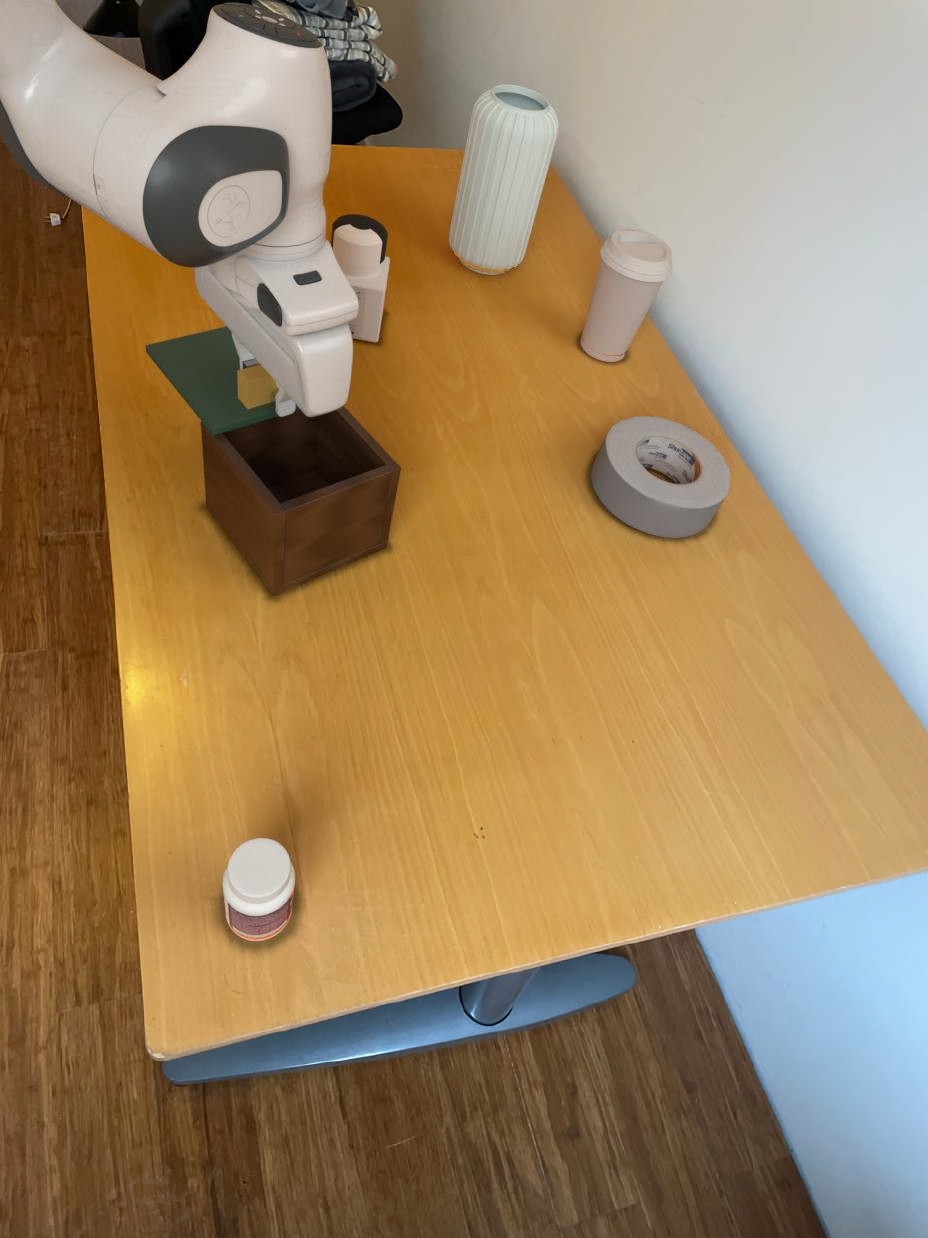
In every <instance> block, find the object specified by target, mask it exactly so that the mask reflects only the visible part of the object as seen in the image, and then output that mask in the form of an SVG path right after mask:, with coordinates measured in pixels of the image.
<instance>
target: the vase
mask: <svg viewBox="0 0 928 1238" xmlns="http://www.w3.org/2000/svg"><path fill="white" fill-rule="evenodd" d="M559 125H560V123H559V119H558V115H557V112H556V111H555V109H554V107H553V106H552V105H551V104H550V101H549V100H548V99H547V97H545V96H544V95H543V94H541V93H539V92H537V91H536V90H533V89H531V88H528V87H525V86H522V85H517V84H509V83H507V84H505V83H503V84H498V85H495V86H494V87H491V88H489V89H488V90H486V91H484V92H482V94H481V95H480V96H479V97H478V98H477V100H476V101H475V103H474V105H473V108H472V112H471V117H470V122H469V129H468V133H467V139H466V144H465V149H464V155H463V159H462V165H461V170H460V175H459V180H458V186H457V191H456V195H455V196H456V197H455V201H454V207H453V211H452V217H451V222H450V227H449V233H448V243H449V246H450V245H451V246H452V249H451V251H452V250H453V251H455V252H456V253H457V255H458V256H459V257H461V258H462V259H464V261H465V262H469V263H471V264H472V265H473V266H479V267H481V268H483V269H485V268H487V269H491V270H500V271H503V270H504V269H511V268H512V267H515V268H517V267H518V266H519V265H520V264H521V263H522V262H523V260H524V257H525V255H526V253H527V249H528V245H529V241H530V238H531V233H532V231H533V226H534V222H535V219H536V216H537V211H538V207H539V204H540V200H541V197H542V194H543V189H544V186H545V182H546V179H547V175H548V171H549V167H550V164H551V160H552V157H553V153H554V149H555V146H556V142H557V137H558V134H559V130H560V126H559ZM453 251H452V252H453ZM459 262H460V263H461V264H462V265H463V266H465V267H466V268H467V269H469V270H471V271H473V272H476V273H478V274H481V275H488V276H489V275H491V276H493V275H494V276H495V275H501V274H504V273H506V272H504V271H503V272H501V273H497V272H493V273H490V272H488V271H481V270H479V269H474V268H472V267H470V266H469V265H468V266H467V265H466V264H465V263H464V262H463V261H460V260H459ZM518 264H519V265H518ZM516 266H517V267H516ZM469 267H470V268H469ZM510 271H511V270H509V271H508V272H510Z"/></svg>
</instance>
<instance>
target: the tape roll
mask: <svg viewBox="0 0 928 1238" xmlns="http://www.w3.org/2000/svg"><path fill="white" fill-rule="evenodd" d="M594 459H595V460H594V462H593V464H592V466H591V467H592V468H591V473H590V474H591V475H590V477H591V484H592V487H593V490H594V492H595V494H596V496H597V497H598V499H599V501H600V502H601V503H602V504H603V506H604V507H605V508H606V509H607V510H608V511H609V512H610V513H611V514H612V515H613V516H615V517H616V518H617V519H618V520H620V521H621V522H623V523H625V524H626V525H627V526H630V527H632V528H633V529H636V530H638V531H640V532H642V533H646V534H648V535H652V536H656V537H660V538H667V539H670V538H671V539H678V538H688V537H691V536H694V535H696V534H698V533H700V532H702V531H703V530H704V529H706V528H707V527H708V526H709V524H710V522H711V521H712V519H713V518H714V516H715V515H716V513H717V512H718V510H719V508H720V507H721V505H722V504H723V502H724V501H725V500H726V498H727V496H728V494H729V492H730V490H731V469H730V468H729V465H728V462H727V461H726V459H725V457H724V456H723V455H722V453H721V452H720V450H718V448H717V447H716V446H715V445H714V444H713V443H712V442H711V441H709V439H707V437H706V438H705V437H704V436H703V435H702V434H701V433H699V432H698V431H695V430H694V429H692V428H690V427H689V426H687V425H684V424H682V423H679V422H678V421H674V420H671V419H668V418H665V417H659V416H650V415H637V416H631V417H628V418H625V419H622V420H620V421H618V422H616V423H615V424H613V425H612V426H611V427H610V429H609V430H608V432H607V433H606V435H605V437H604V439H603V443H602V445H601V447H600V448H599V451H598V453H597V455H596V457H595V458H594ZM648 469H651V470H654V471H657V472H659V473H662V475H665V476H667V477H668V478H669V479H671V480H672V481H673V482H669V481H666V480H663V479H661V478H659V477H657V476H655V475H654V474H652V473H651V472H650V471H649V470H648Z"/></svg>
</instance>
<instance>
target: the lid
mask: <svg viewBox="0 0 928 1238" xmlns="http://www.w3.org/2000/svg"><path fill="white" fill-rule="evenodd" d="M145 353H146V354H147V355H148V357H149V358H150V359H151V361H152V362H153V363H154V364H155V366H156V367H157V368H158V369H159V370H160V372H161V373H162V374H163V375H164V377H165V378H166V379H167V380H168V382H169V383H170V384H171V386H172V387H173V388H174V389H175V390H176V392H177V393H178V394H179V395H180V397H181V398H182V399H183V400H184V402H185V403H186V404H187V405H188V406H189V408H190V409H191V410H192V411H193V413H194V414H195V415H196V417H197V418H198V419H199V420H200V422H201V421H202V423H203V424H204V425H205V426H206V427H207V429H208V430H209V431H210V432H211V434H212V435H213V436H215V435H218V434H221V433H225V432H228V431H231V430H235V429H238V428H241V427H244V426H248V425H251V424H254V423H257V422H261V421H264V420H267V419H271V418H274V417H277V416H279V415H278V414H277V413H276V412H275V411H274V409H273V408H272V407H271V405H270V402H271V399H270V393H272V392H275V391H279V388H278V387H277V386H276V381H275V380H274V379H273V378H272V377H271V376H270V374H269V373H268V372H267V371H266V370H265V369H264V368H263V367H262V365H261V364H260V365H257V366H253V367H249V368H245V369H242V370H240V358H239V356H238V353H237V350H236V347H235V344H234V341H233V338H232V332H231V331H230V329H229V328H228V327H227V326H226V325H225V326H222V327H217V328H212V329H209V330H205V331H201V332H197V333H192V334H188V335H183V336H179V337H175V338H171V339H167V340H166V339H165V340H162V341H157V342H153V343H150V344H149V343H148V344H145ZM297 410H300V408H299V407H298V406H297V405H296V409H295V411H297Z"/></svg>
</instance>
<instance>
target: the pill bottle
mask: <svg viewBox="0 0 928 1238" xmlns="http://www.w3.org/2000/svg"><path fill="white" fill-rule="evenodd" d="M295 871H296V870H295V868H294V865H293V862H292V861H291V857H290V855H289V853H288V851H287V850H286V847H284V846H283V845H282V844H281V843H280V842H278V841H277V840H275V839H272V838H268V837H255V838H251V839H248V840H246V841H244V842H242V843H241V844H239V846H237V848H235V850H234V851H233V852H232V854H231V856H230V858H229V860H228V862H227V865H226V867H225V870H224V871H223V875H222V880H221V889H222V897H223V906H224V913H225V919H226V922H227V924H228V926H229V928H230V929H231V930H232V932H233V933H234V934H235V935H237V936H238V937H240V938H242V939H244V940H247V941H250V942H251V941H252V942H261V941H266V940H268V939H271V938H274V937H275V936H277V935H278V934H279V933H281V932H282V931H283V930H284V928H285V927H286V926H287V924H288V923H289V921H290V919H291V916H292V913H293V908H294V907H293V905H294V899H295V898H294V897H295V887H296V886H295V885H296V872H295Z"/></svg>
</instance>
